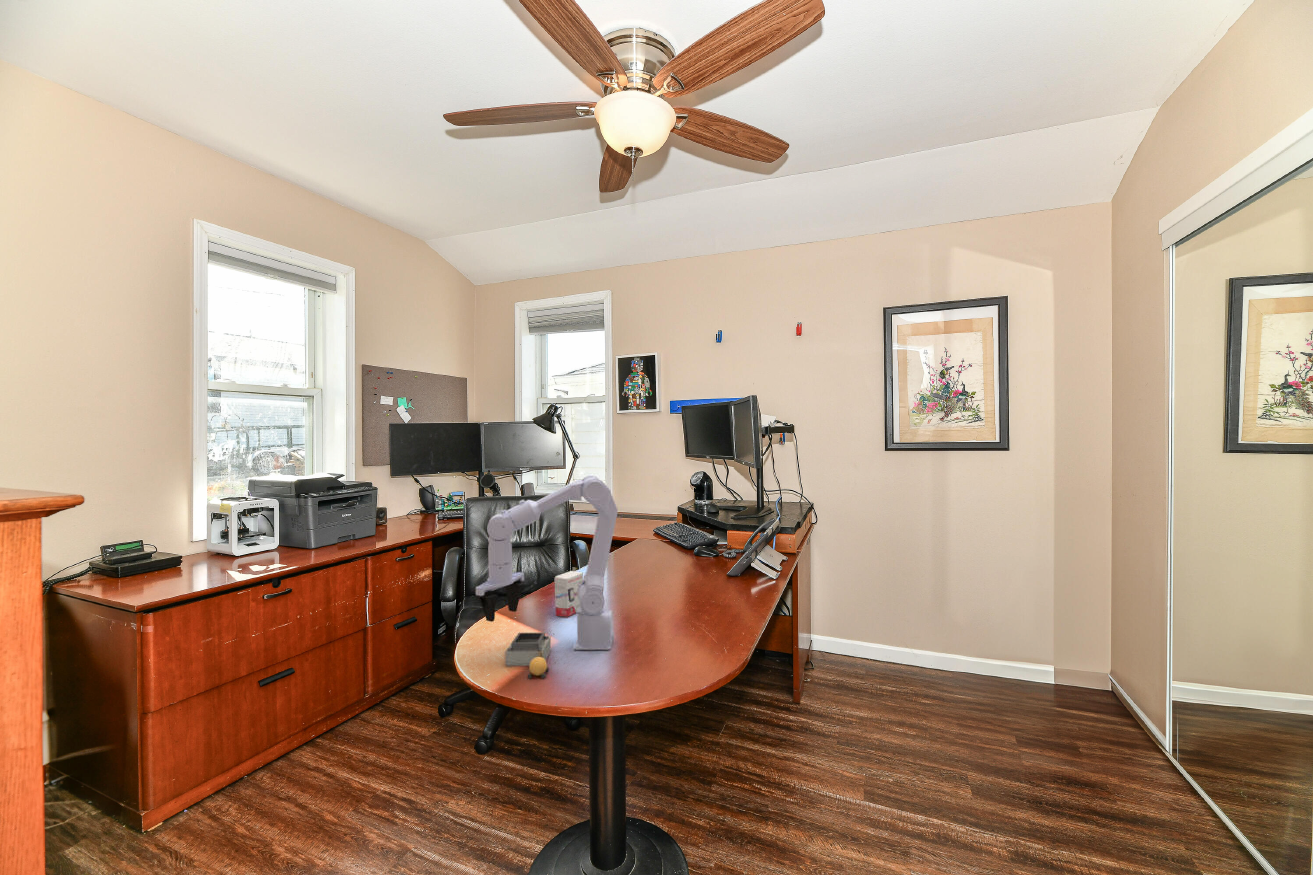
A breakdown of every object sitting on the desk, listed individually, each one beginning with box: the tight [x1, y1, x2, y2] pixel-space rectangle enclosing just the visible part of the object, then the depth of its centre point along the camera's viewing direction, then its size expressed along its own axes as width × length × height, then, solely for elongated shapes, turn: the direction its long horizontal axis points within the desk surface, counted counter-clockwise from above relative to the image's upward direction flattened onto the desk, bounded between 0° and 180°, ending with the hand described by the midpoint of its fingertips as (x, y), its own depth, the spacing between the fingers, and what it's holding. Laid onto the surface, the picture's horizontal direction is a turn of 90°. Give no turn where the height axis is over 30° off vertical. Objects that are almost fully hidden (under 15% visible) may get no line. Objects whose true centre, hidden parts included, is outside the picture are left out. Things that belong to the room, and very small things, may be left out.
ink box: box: [554, 570, 584, 618], centre depth 164 cm, size 9×5×12 cm, turn 150°
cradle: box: [526, 666, 550, 680], centre depth 123 cm, size 4×4×1 cm
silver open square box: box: [504, 632, 552, 667], centre depth 132 cm, size 9×9×5 cm
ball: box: [528, 657, 548, 676], centre depth 123 cm, size 4×4×4 cm
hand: (501, 615), depth 134 cm, fingers open, 7 cm apart
